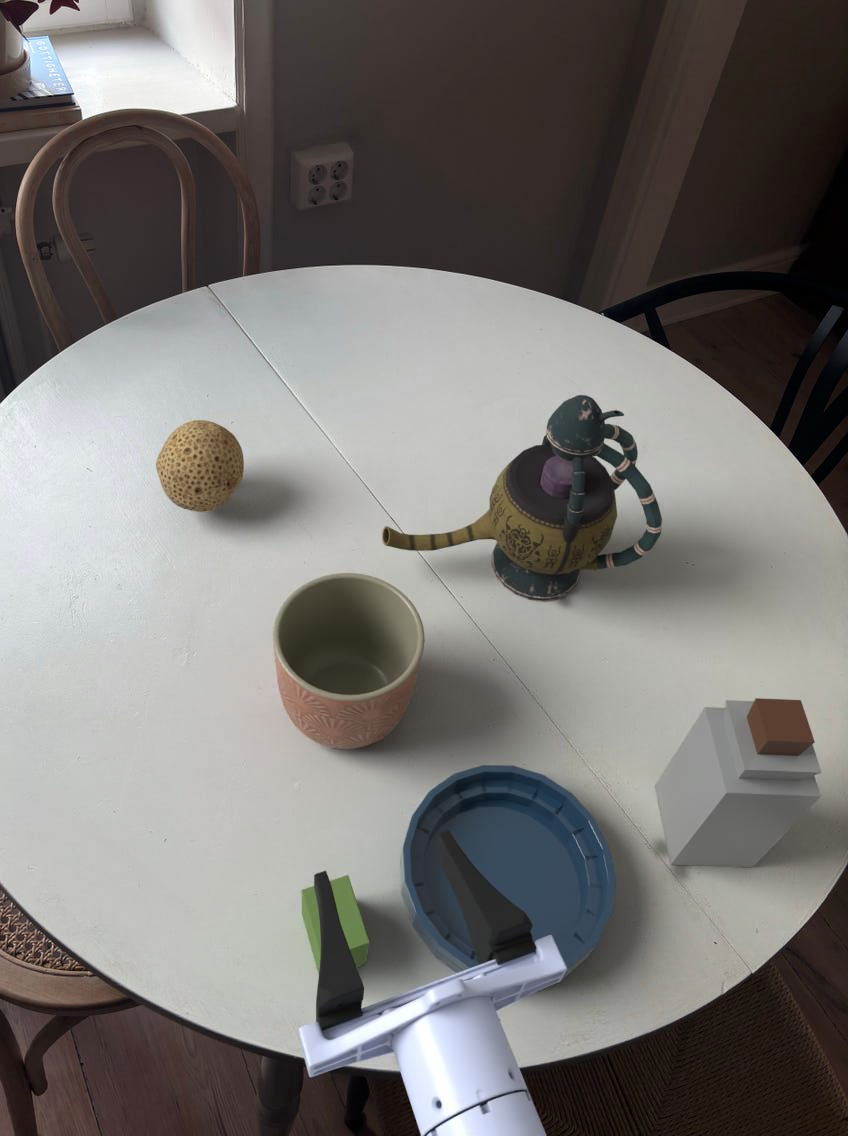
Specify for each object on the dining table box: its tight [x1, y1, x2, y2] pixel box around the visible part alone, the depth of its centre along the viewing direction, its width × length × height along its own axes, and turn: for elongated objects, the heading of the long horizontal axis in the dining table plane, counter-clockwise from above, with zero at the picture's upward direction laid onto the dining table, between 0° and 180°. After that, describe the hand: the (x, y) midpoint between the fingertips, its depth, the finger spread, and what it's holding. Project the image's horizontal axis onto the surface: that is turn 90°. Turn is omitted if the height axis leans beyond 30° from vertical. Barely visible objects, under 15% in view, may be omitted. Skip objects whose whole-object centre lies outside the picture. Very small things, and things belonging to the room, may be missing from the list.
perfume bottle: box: [654, 697, 822, 868], centre depth 71 cm, size 7×7×18 cm
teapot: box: [381, 394, 663, 602], centre depth 87 cm, size 12×25×23 cm, turn 94°
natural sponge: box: [155, 419, 245, 513], centre depth 96 cm, size 9×9×10 cm
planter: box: [272, 572, 426, 750], centre depth 80 cm, size 12×12×11 cm
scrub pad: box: [301, 874, 370, 974], centre depth 69 cm, size 5×4×5 cm
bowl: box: [399, 764, 617, 980], centre depth 73 cm, size 16×16×4 cm
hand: (382, 858), depth 55 cm, fingers open, 7 cm apart
